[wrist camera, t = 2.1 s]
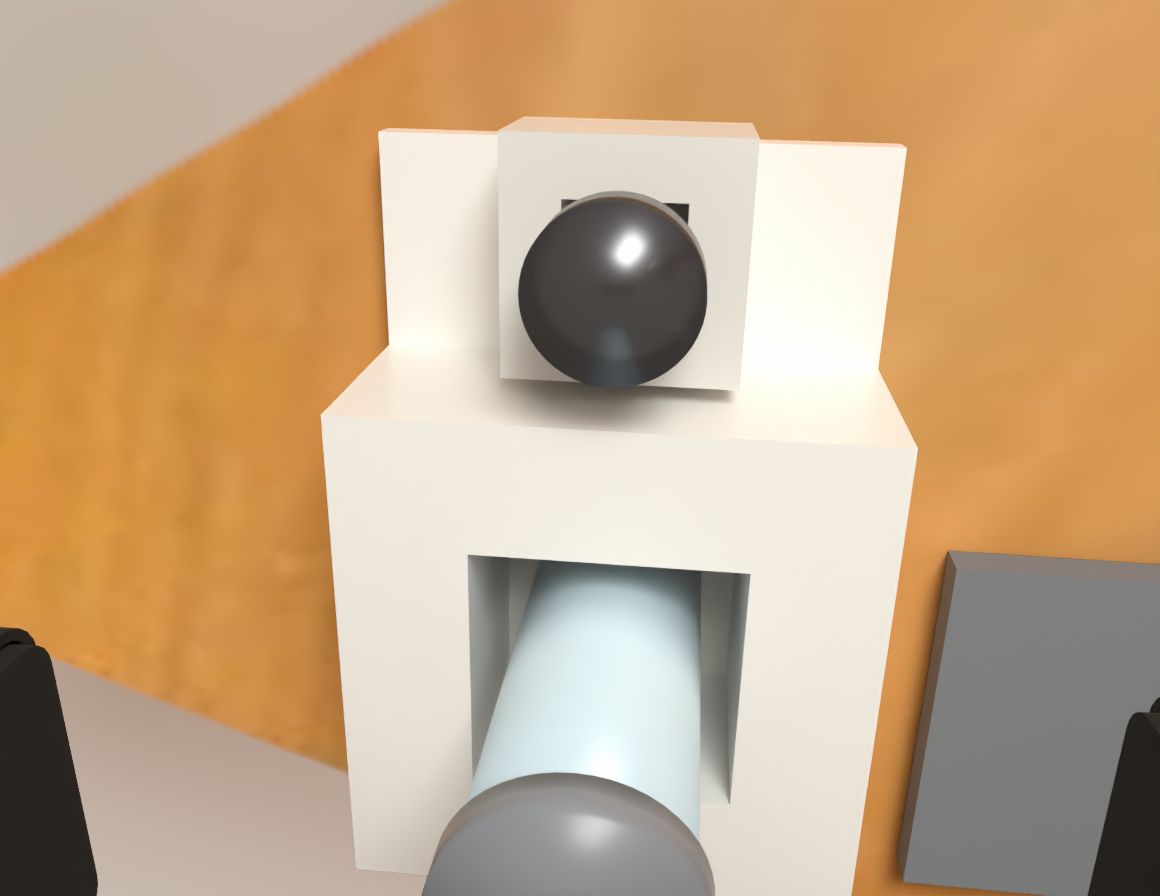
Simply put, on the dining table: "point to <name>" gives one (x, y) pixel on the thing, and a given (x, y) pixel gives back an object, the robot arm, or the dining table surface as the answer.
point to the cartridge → (590, 746)
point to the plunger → (614, 289)
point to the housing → (628, 477)
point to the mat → (1027, 719)
